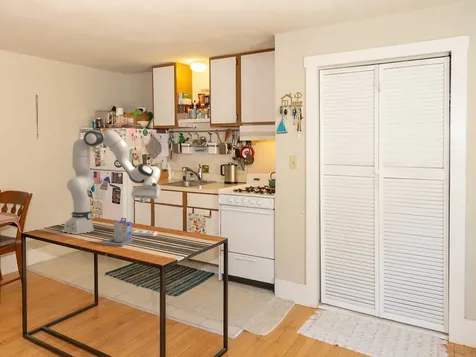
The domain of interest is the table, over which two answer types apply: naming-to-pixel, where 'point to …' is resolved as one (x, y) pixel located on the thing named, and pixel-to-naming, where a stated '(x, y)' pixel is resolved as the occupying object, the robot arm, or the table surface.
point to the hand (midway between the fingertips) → (141, 202)
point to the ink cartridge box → (122, 231)
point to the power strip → (144, 233)
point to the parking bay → (117, 243)
